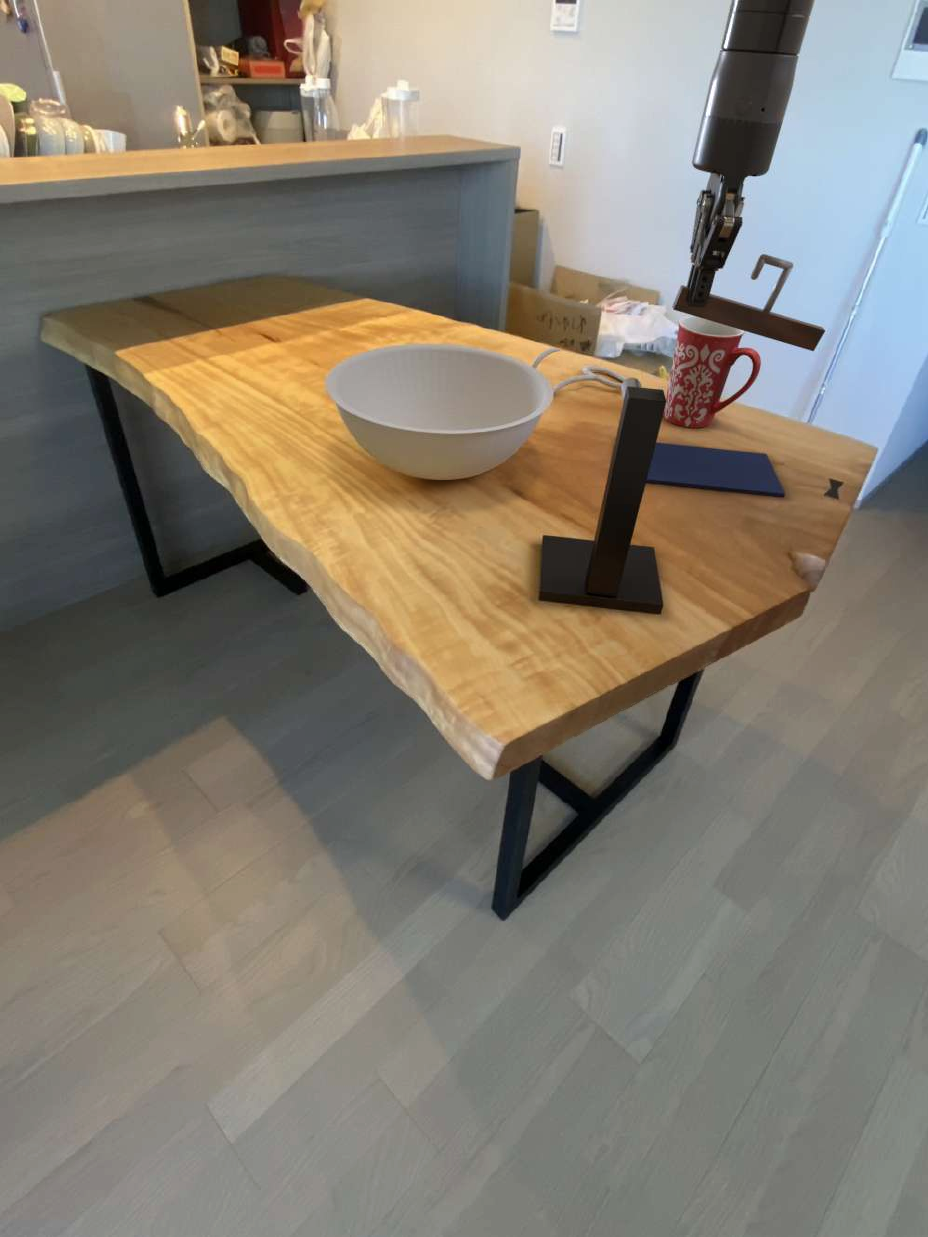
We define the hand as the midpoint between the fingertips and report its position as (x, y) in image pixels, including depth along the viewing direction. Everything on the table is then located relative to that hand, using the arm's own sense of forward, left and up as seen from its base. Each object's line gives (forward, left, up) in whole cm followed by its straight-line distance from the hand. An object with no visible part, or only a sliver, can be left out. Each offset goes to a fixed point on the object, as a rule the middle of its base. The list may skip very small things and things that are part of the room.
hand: (694, 302), depth 77 cm
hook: (+10, -24, -21) cm, 33 cm away
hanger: (-6, 0, -2) cm, 7 cm away
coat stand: (+8, +26, -20) cm, 34 cm away
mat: (-6, -1, -20) cm, 21 cm away
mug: (-8, -16, -21) cm, 27 cm away
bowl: (+28, +4, -21) cm, 35 cm away
